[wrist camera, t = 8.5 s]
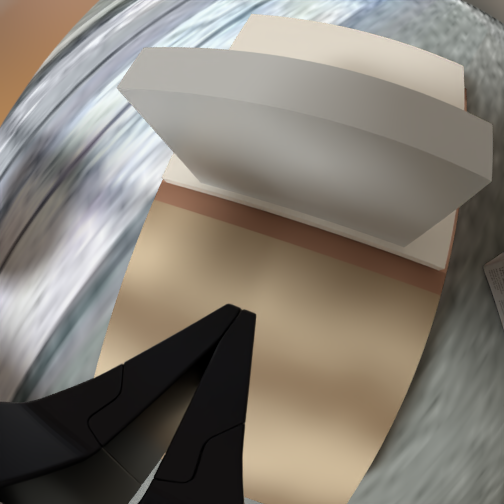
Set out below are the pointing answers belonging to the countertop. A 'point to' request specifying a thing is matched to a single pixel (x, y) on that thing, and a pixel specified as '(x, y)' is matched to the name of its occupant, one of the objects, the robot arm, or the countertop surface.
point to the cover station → (285, 332)
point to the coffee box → (497, 282)
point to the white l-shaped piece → (321, 130)
